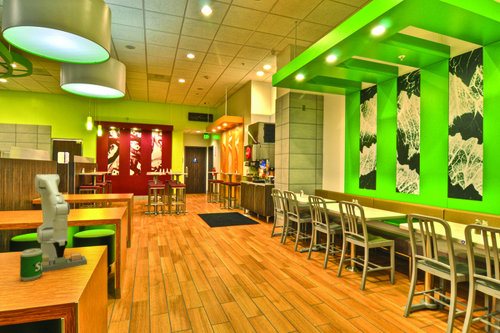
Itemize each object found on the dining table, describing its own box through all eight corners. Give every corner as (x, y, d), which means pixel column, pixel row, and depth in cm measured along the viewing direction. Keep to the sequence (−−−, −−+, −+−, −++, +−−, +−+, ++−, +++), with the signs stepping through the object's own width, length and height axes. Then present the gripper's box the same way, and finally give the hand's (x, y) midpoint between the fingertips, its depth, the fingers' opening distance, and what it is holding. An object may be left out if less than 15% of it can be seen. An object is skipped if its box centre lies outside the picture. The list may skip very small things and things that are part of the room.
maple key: (37, 264, 129) (37, 256, 129) (48, 262, 132) (48, 254, 132) (38, 267, 126) (38, 258, 126) (48, 265, 129) (48, 256, 129)
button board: (31, 269, 129) (31, 264, 129) (83, 259, 143) (83, 255, 143) (32, 274, 123) (32, 269, 123) (86, 264, 137) (86, 259, 137)
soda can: (30, 282, 115) (30, 253, 115) (15, 280, 116) (15, 252, 116) (46, 275, 122) (47, 248, 122) (32, 274, 124) (33, 247, 124)
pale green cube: (54, 265, 133) (54, 256, 133) (64, 263, 136) (64, 255, 136) (55, 267, 130) (55, 259, 130) (65, 265, 133) (65, 257, 133)
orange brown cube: (70, 262, 138) (70, 254, 138) (79, 260, 140) (80, 252, 140) (71, 264, 134) (71, 256, 134) (81, 262, 137) (81, 254, 137)
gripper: (48, 227, 136) (48, 255, 136) (51, 232, 125) (51, 263, 125) (66, 225, 141) (65, 252, 141) (70, 230, 130) (69, 259, 129)
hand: (60, 257), depth 133 cm, fingers closed, pressing on pale green cube
